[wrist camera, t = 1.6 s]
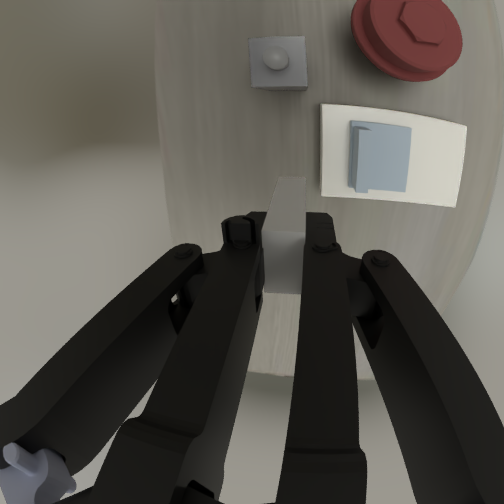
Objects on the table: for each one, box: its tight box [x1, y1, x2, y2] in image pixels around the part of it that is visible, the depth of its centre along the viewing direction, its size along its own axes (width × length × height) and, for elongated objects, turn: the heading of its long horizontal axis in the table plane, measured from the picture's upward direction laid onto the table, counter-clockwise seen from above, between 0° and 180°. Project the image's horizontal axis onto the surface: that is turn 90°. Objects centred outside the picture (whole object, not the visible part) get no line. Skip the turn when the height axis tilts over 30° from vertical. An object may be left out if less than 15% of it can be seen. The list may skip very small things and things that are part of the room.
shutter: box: [348, 120, 412, 193], centre depth 23 cm, size 7×6×4 cm
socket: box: [320, 103, 467, 207], centre depth 26 cm, size 10×17×4 cm, turn 93°
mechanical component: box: [351, 0, 462, 82], centre depth 16 cm, size 12×10×10 cm
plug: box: [248, 36, 308, 91], centre depth 20 cm, size 4×4×14 cm
